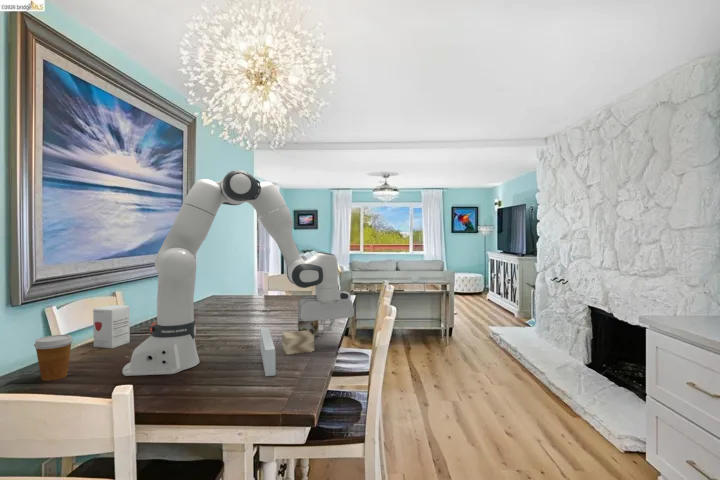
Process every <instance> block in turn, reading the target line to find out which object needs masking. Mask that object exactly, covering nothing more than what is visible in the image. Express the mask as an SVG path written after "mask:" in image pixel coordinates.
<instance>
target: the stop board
mask: <svg viewBox="0 0 720 480" xmlns="http://www.w3.org/2000/svg"><path fill="white" fill-rule="evenodd" d="M259 332H260V333H259V338H260V339H259V342H260V343H259V344H260V347H259V349H260V354H261V355H260V356H261V359H262V365H263V371H264V375H265V377H273V376H276V372H277V371H276V368H277V367H276V347H275V344H274V341H273V338H272V334H271V331H270V329H269V327H260V328H259Z"/></svg>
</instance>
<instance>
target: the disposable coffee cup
mask: <svg viewBox="0 0 720 480" xmlns="http://www.w3.org/2000/svg"><path fill="white" fill-rule="evenodd" d="M73 342H74V339H73V338H72V335H71V334H55V335H47V336H43V337H40V338H37V339H36V340H35V343H34V344H33V347H34V349H35V351H36V357H37V361H38V362H37V363H38V368H39V372H40V378H41V381H43V382H44V381H45V382H51V380H52V381H56V380H61V379H64V378H66V377H67V376H68V370H69V363H70V356H71V349H72V348H71V347H72V343H73Z"/></svg>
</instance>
